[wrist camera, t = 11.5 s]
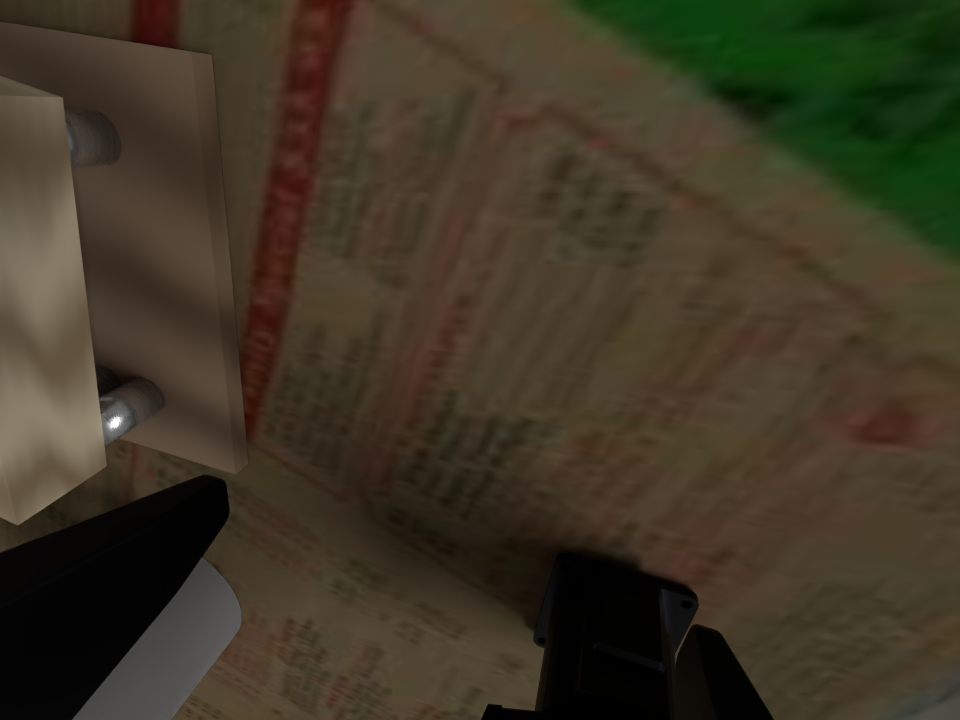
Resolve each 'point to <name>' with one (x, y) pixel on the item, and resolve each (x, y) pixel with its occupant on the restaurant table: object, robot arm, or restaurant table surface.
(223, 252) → the peg holder
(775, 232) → the restaurant table surface
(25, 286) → the pine board
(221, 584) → the coffee mug
